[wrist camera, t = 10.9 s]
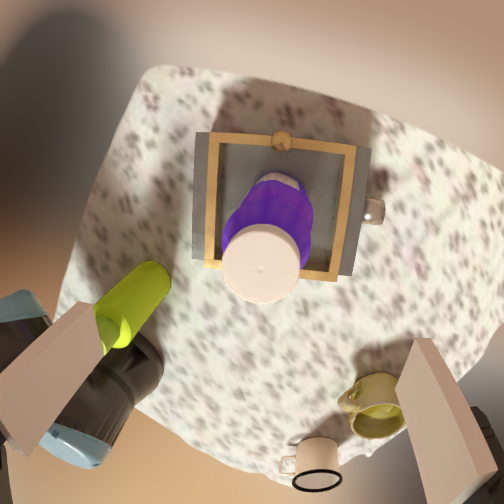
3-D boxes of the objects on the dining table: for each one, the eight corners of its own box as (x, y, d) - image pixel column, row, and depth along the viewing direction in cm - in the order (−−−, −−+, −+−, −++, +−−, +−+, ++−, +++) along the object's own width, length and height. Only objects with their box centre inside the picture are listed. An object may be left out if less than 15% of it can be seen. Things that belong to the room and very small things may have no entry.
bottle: (265, 161, 31) (236, 181, 14) (315, 186, 31) (343, 234, 15) (235, 223, 33) (183, 302, 17) (284, 246, 33) (276, 345, 17)
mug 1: (340, 431, 51) (343, 469, 42) (339, 456, 54) (341, 490, 45) (278, 437, 53) (275, 474, 44) (283, 460, 56) (280, 494, 47)
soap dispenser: (161, 250, 42) (79, 327, 23) (176, 294, 44) (112, 387, 25) (127, 257, 43) (40, 329, 24) (142, 299, 45) (71, 384, 26)
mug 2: (422, 387, 43) (416, 434, 35) (377, 407, 49) (364, 450, 41) (381, 344, 44) (370, 392, 36) (336, 369, 50) (317, 413, 42)
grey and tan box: (205, 245, 41) (174, 284, 30) (210, 130, 36) (176, 126, 25) (364, 262, 39) (389, 307, 28) (382, 148, 34) (420, 152, 23)
